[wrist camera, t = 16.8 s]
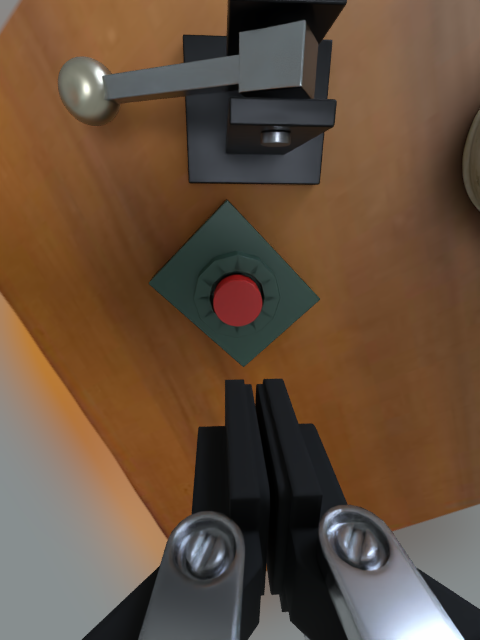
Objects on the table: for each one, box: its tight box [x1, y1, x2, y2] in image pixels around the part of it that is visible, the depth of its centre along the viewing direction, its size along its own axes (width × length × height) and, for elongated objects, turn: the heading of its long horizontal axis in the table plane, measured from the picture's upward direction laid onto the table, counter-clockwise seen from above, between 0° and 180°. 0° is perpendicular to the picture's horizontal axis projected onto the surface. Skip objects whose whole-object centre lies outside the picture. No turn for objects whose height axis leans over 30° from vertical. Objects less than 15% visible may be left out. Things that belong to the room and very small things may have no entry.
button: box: [213, 274, 262, 326], centre depth 25 cm, size 4×4×2 cm
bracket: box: [183, 0, 347, 185], centre depth 19 cm, size 10×9×13 cm
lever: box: [58, 19, 318, 126], centre depth 17 cm, size 14×3×3 cm, turn 89°
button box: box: [149, 200, 320, 367], centre depth 27 cm, size 11×9×4 cm
